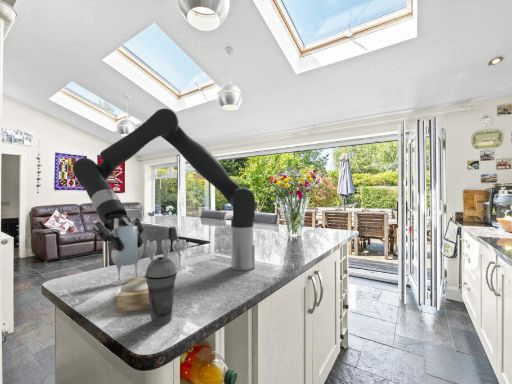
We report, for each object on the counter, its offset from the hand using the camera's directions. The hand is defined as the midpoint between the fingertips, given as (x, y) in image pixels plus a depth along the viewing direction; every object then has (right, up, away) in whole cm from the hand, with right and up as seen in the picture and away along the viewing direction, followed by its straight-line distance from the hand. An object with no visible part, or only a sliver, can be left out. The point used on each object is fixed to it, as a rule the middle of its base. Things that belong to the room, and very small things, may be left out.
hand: (131, 247), depth 75 cm
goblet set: (-3, -16, +22) cm, 27 cm away
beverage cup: (+14, -15, -13) cm, 25 cm away
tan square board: (+4, -15, 0) cm, 16 cm away
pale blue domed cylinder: (-1, -5, +1) cm, 5 cm away
